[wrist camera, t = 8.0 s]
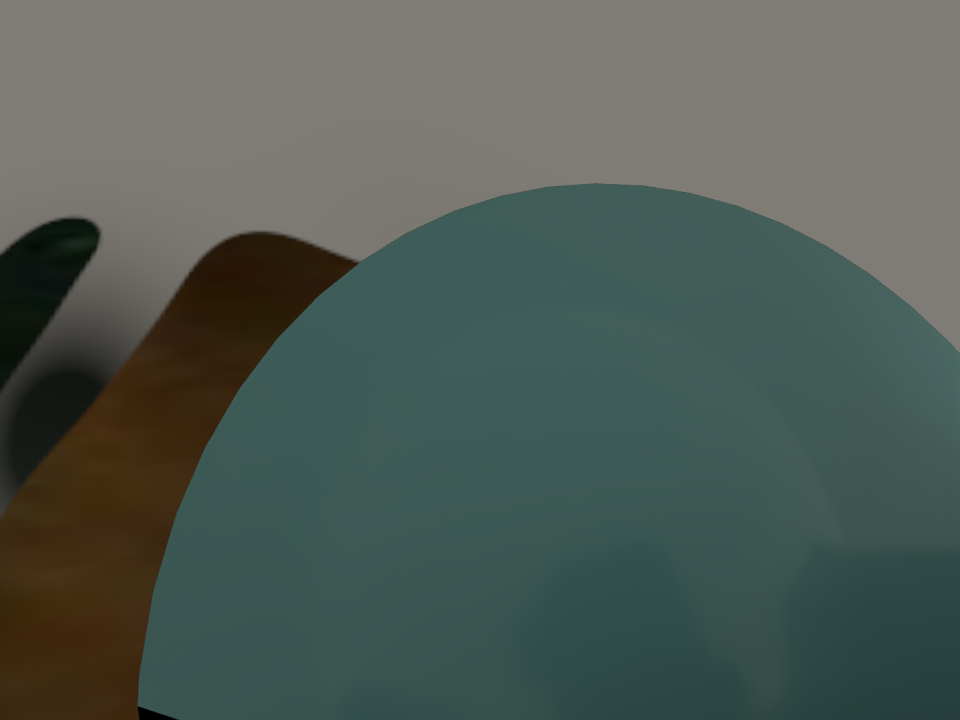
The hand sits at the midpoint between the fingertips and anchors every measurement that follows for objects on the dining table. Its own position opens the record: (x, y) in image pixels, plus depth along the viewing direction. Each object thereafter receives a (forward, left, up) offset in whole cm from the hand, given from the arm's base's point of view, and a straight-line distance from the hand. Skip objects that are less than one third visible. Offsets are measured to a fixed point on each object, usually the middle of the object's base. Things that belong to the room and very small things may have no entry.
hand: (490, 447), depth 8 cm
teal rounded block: (-1, +1, -7) cm, 7 cm away
